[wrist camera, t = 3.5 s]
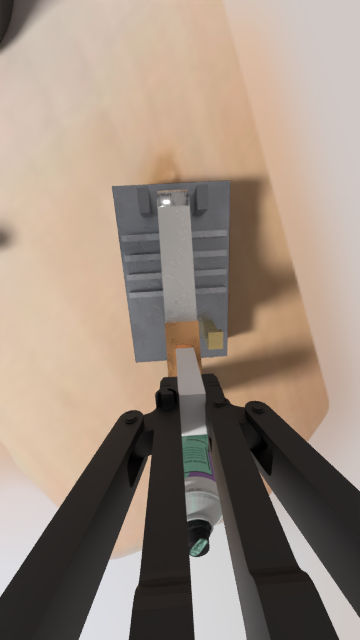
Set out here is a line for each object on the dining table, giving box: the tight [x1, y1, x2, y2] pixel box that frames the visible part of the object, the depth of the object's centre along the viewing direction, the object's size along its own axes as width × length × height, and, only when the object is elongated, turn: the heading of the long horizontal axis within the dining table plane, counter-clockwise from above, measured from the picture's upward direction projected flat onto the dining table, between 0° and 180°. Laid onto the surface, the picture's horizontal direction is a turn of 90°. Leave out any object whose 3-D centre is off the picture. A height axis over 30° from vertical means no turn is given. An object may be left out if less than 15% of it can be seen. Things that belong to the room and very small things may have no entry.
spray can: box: [182, 433, 223, 557], centre depth 25 cm, size 6×6×20 cm
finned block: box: [112, 181, 230, 362], centre depth 25 cm, size 20×12×9 cm, turn 3°
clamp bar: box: [157, 189, 202, 377], centre depth 20 cm, size 17×3×3 cm, turn 4°
